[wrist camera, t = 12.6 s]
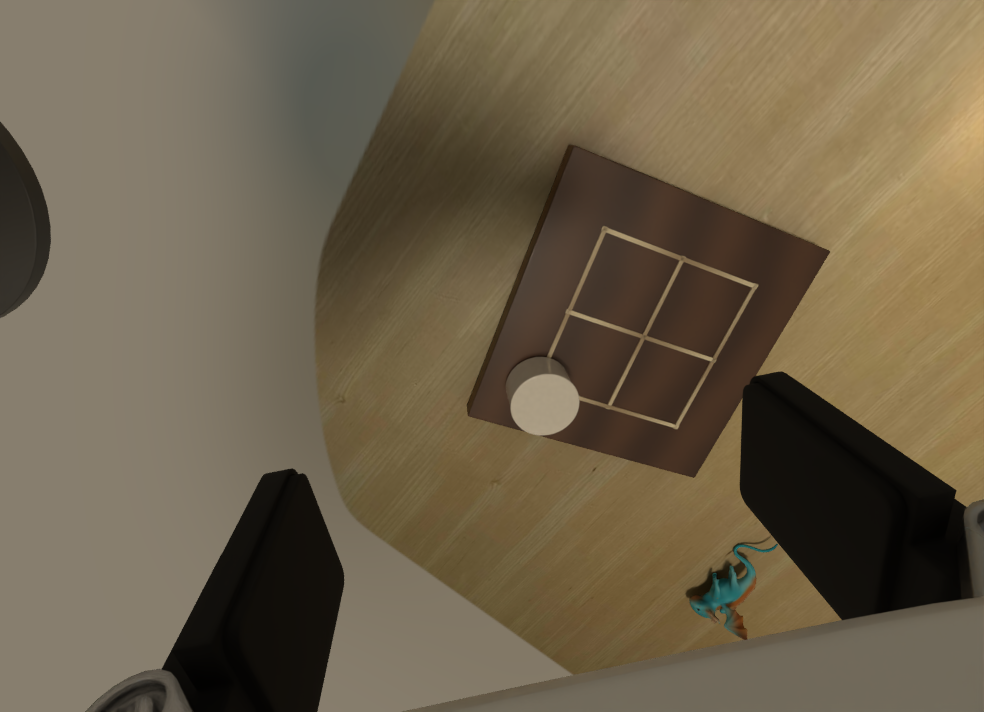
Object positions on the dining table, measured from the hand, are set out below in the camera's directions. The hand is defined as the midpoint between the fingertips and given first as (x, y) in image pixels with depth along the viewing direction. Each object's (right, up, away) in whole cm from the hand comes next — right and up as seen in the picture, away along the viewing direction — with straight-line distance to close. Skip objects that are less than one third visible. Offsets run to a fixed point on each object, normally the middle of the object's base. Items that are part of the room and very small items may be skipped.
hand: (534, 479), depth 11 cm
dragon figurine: (+22, -18, +39) cm, 48 cm away
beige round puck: (+2, 0, +27) cm, 27 cm away
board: (+10, +5, +28) cm, 30 cm away
